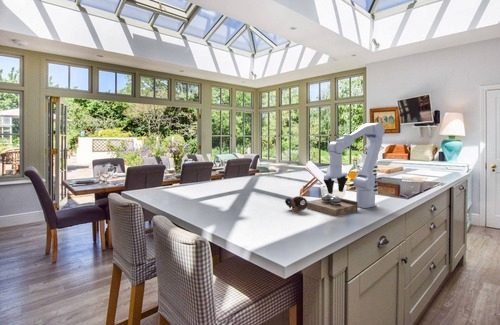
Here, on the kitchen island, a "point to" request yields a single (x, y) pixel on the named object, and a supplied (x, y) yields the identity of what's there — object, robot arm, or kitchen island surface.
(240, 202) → the kitchen island surface
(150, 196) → the kitchen island surface
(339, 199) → the stepped metal shaft
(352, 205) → the block
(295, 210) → the brown animal figurine
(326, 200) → the seated shaft
